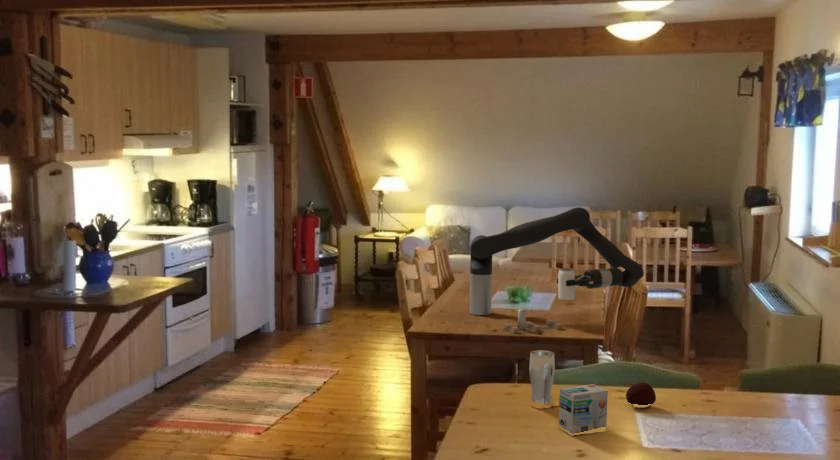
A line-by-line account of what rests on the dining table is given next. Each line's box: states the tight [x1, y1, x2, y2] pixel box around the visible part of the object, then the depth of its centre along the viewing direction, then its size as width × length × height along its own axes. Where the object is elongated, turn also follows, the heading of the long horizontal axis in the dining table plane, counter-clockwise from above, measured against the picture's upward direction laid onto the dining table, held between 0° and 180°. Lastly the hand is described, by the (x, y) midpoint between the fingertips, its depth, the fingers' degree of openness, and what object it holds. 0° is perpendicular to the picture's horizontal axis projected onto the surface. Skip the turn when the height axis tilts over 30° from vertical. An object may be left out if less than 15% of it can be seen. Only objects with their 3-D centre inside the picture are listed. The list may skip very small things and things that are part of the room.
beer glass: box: [528, 349, 556, 404], centre depth 233 cm, size 7×7×15 cm
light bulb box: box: [558, 383, 609, 434], centre depth 214 cm, size 11×7×11 cm, turn 114°
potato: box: [625, 382, 657, 405], centre depth 233 cm, size 7×8×7 cm
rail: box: [502, 319, 563, 335], centre depth 325 cm, size 9×21×3 cm, turn 112°
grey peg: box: [517, 308, 527, 331], centre depth 323 cm, size 3×3×8 cm
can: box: [557, 267, 576, 302], centre depth 332 cm, size 6×6×12 cm
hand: (561, 282), depth 331 cm, fingers closed on can, 6 cm apart
